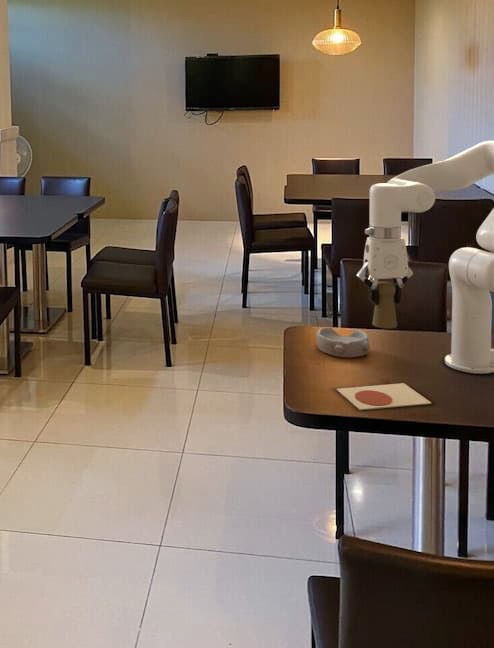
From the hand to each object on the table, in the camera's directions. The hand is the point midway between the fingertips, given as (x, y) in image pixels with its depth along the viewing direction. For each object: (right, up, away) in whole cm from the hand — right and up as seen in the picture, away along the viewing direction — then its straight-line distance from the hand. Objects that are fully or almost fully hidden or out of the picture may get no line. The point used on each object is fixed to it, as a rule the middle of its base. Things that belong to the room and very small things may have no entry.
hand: (384, 302), depth 187 cm
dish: (-4, -19, +21) cm, 28 cm away
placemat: (-4, -21, -10) cm, 23 cm away
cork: (0, -6, +1) cm, 6 cm away
